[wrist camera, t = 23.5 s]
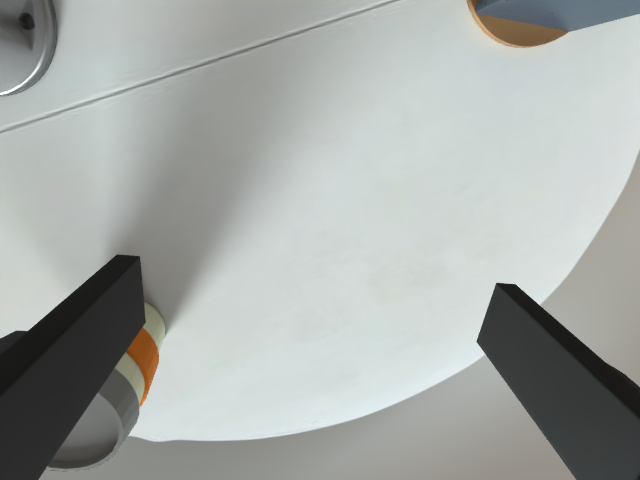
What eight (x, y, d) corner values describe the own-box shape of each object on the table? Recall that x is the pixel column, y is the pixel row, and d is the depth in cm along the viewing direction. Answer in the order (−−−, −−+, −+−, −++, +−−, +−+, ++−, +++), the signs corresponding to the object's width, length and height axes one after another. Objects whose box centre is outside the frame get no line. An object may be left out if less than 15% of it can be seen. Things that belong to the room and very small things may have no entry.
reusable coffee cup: (171, 373, 49) (118, 482, 35) (75, 353, 47) (-21, 461, 33) (187, 297, 44) (134, 388, 30) (82, 272, 42) (-25, 357, 28)
